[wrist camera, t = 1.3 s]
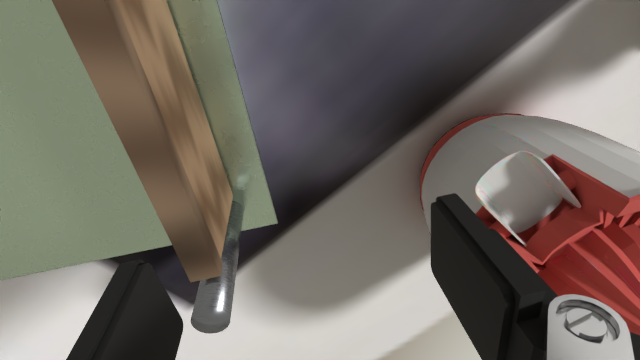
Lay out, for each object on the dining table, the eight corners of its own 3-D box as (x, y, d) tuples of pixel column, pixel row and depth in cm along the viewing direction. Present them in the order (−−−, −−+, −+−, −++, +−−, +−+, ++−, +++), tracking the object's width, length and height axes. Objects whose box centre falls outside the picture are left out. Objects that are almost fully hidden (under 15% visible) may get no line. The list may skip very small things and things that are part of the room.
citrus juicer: (490, 38, 28) (842, 113, 11) (574, 161, 35) (865, 325, 18) (355, 166, 32) (451, 367, 15) (454, 253, 40) (596, 456, 22)
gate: (113, -65, 21) (-1, -105, 12) (145, -70, 21) (54, -115, 12) (213, 199, 31) (190, 282, 22) (235, 195, 31) (220, 275, 22)
